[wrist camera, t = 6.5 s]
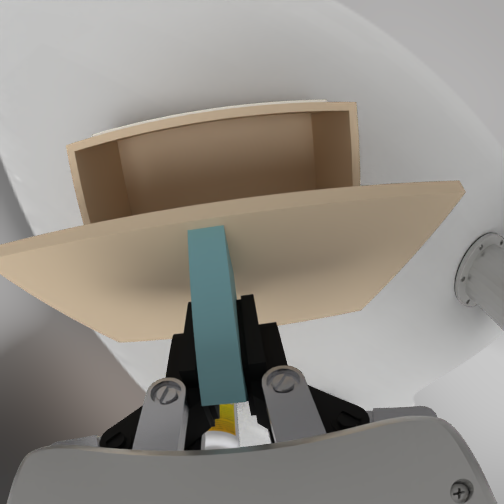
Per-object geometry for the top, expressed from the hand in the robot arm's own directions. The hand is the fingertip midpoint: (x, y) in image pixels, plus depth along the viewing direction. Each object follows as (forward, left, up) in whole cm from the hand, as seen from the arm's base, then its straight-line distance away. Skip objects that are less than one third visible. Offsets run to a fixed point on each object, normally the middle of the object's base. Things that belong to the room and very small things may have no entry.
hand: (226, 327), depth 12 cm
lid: (0, +1, -4) cm, 4 cm away
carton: (0, -1, -19) cm, 19 cm away
